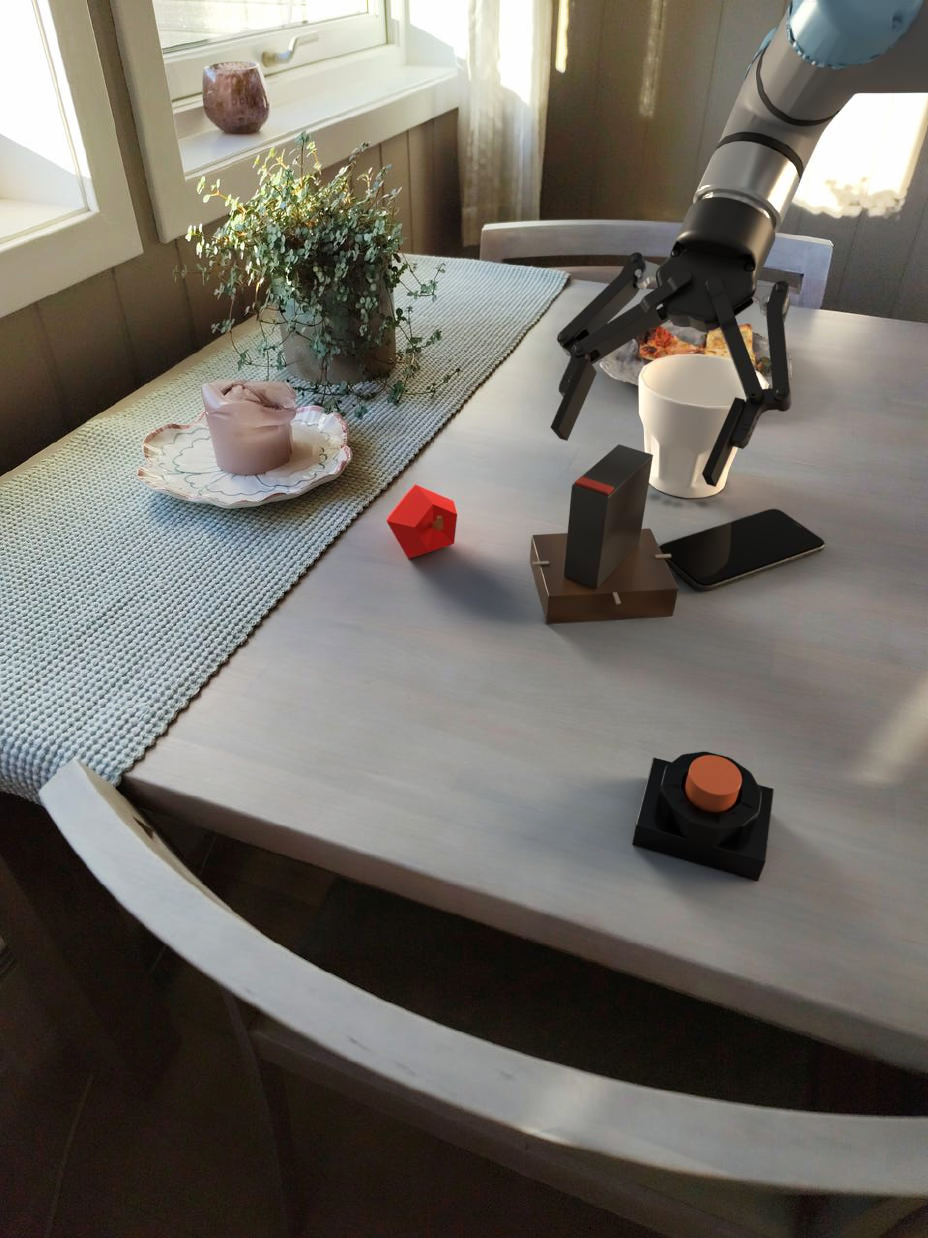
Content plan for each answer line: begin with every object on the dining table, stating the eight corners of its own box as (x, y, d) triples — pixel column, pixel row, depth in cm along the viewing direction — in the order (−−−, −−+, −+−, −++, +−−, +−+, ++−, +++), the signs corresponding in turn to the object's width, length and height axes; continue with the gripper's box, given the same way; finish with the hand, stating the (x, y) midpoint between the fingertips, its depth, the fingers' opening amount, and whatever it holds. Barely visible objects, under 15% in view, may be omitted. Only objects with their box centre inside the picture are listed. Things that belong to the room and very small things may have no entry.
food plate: (617, 326, 124) (619, 302, 121) (786, 344, 119) (792, 318, 116) (588, 402, 105) (591, 375, 103) (787, 426, 100) (795, 398, 98)
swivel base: (647, 544, 82) (652, 516, 80) (685, 627, 73) (691, 598, 71) (520, 551, 81) (522, 523, 79) (542, 636, 72) (544, 607, 70)
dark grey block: (607, 532, 78) (618, 441, 72) (639, 544, 77) (654, 451, 71) (563, 576, 73) (571, 482, 67) (596, 589, 72) (608, 494, 66)
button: (738, 780, 56) (744, 762, 55) (733, 818, 53) (738, 801, 52) (688, 767, 57) (693, 749, 56) (681, 804, 54) (685, 786, 53)
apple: (371, 480, 81) (404, 491, 74) (437, 477, 84) (474, 487, 77) (372, 553, 83) (404, 570, 76) (436, 547, 86) (473, 563, 79)
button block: (766, 808, 59) (780, 770, 56) (758, 882, 54) (772, 844, 52) (648, 777, 61) (657, 738, 58) (631, 846, 56) (639, 807, 54)
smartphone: (701, 596, 76) (829, 550, 81) (702, 588, 76) (831, 543, 81) (650, 552, 81) (774, 512, 86) (652, 545, 81) (776, 505, 86)
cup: (607, 456, 95) (619, 359, 88) (711, 442, 97) (730, 347, 90) (654, 516, 86) (672, 414, 79) (767, 500, 88) (794, 399, 81)
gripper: (888, 272, 69) (782, 515, 69) (609, 221, 80) (517, 432, 80) (893, 217, 63) (775, 487, 63) (587, 170, 73) (487, 400, 73)
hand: (630, 456), depth 71 cm, fingers open, 13 cm apart
